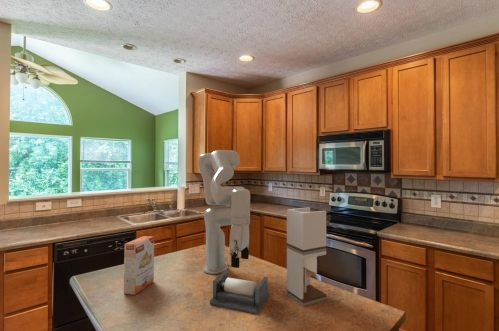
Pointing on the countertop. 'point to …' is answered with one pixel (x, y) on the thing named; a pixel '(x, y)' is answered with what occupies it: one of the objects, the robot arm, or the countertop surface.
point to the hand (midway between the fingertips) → (240, 262)
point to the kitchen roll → (240, 287)
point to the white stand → (304, 253)
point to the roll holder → (236, 300)
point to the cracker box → (138, 264)
